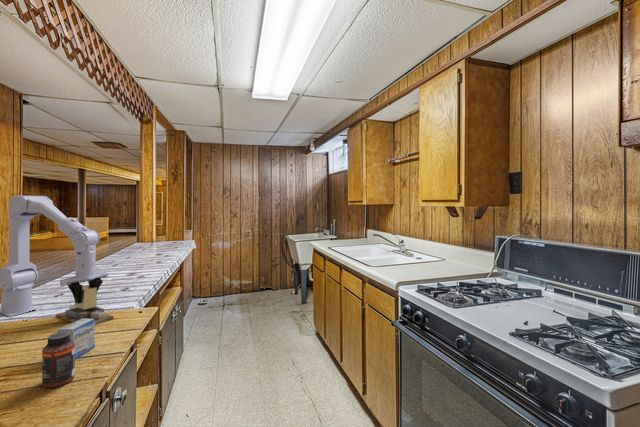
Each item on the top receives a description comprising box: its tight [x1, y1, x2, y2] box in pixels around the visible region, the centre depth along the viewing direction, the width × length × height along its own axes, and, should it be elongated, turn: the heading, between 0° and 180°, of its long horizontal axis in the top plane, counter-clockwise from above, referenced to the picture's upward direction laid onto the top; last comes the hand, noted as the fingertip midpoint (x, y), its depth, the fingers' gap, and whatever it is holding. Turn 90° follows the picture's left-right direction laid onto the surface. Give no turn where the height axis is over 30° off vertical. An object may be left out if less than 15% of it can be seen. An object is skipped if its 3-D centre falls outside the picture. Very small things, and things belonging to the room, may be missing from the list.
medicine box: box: [57, 319, 96, 360], centre depth 85 cm, size 8×4×9 cm, turn 179°
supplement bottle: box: [41, 332, 76, 389], centre depth 72 cm, size 6×6×11 cm
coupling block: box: [74, 284, 98, 310], centre depth 110 cm, size 4×6×7 cm, turn 64°
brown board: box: [55, 304, 115, 326], centre depth 110 cm, size 19×9×3 cm, turn 64°
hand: (85, 301), depth 110 cm, fingers closed on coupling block, 4 cm apart
